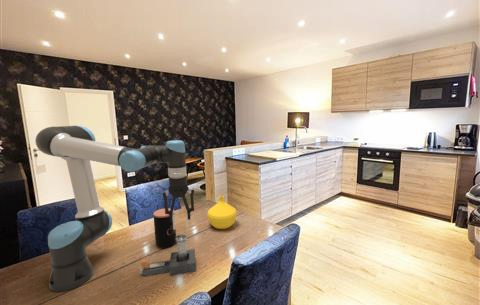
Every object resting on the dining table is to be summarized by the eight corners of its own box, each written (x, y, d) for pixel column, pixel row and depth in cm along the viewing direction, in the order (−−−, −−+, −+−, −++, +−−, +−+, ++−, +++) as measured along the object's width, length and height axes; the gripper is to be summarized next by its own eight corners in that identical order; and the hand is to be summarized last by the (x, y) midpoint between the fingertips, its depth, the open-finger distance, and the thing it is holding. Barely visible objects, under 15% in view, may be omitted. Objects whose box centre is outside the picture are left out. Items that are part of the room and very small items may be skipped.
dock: (141, 280, 93) (140, 272, 93) (145, 264, 104) (144, 256, 103) (196, 271, 99) (195, 262, 98) (195, 256, 109) (194, 248, 109)
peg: (177, 270, 100) (175, 240, 98) (177, 263, 104) (175, 235, 103) (188, 268, 101) (187, 238, 99) (188, 261, 106) (186, 233, 104)
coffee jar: (170, 249, 115) (168, 216, 113) (151, 248, 118) (149, 215, 115) (179, 239, 126) (177, 208, 123) (162, 237, 128) (160, 207, 125)
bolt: (140, 274, 97) (139, 262, 97) (141, 270, 100) (140, 259, 99) (164, 270, 100) (164, 259, 99) (165, 266, 102) (164, 255, 101)
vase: (221, 216, 154) (220, 190, 151) (242, 223, 143) (242, 194, 140) (201, 227, 139) (200, 197, 136) (224, 235, 128) (223, 203, 126)
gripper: (154, 180, 91) (158, 234, 94) (199, 176, 95) (201, 228, 99) (156, 176, 98) (160, 226, 102) (198, 172, 102) (200, 221, 106)
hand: (180, 227), depth 100 cm, fingers open, 5 cm apart
